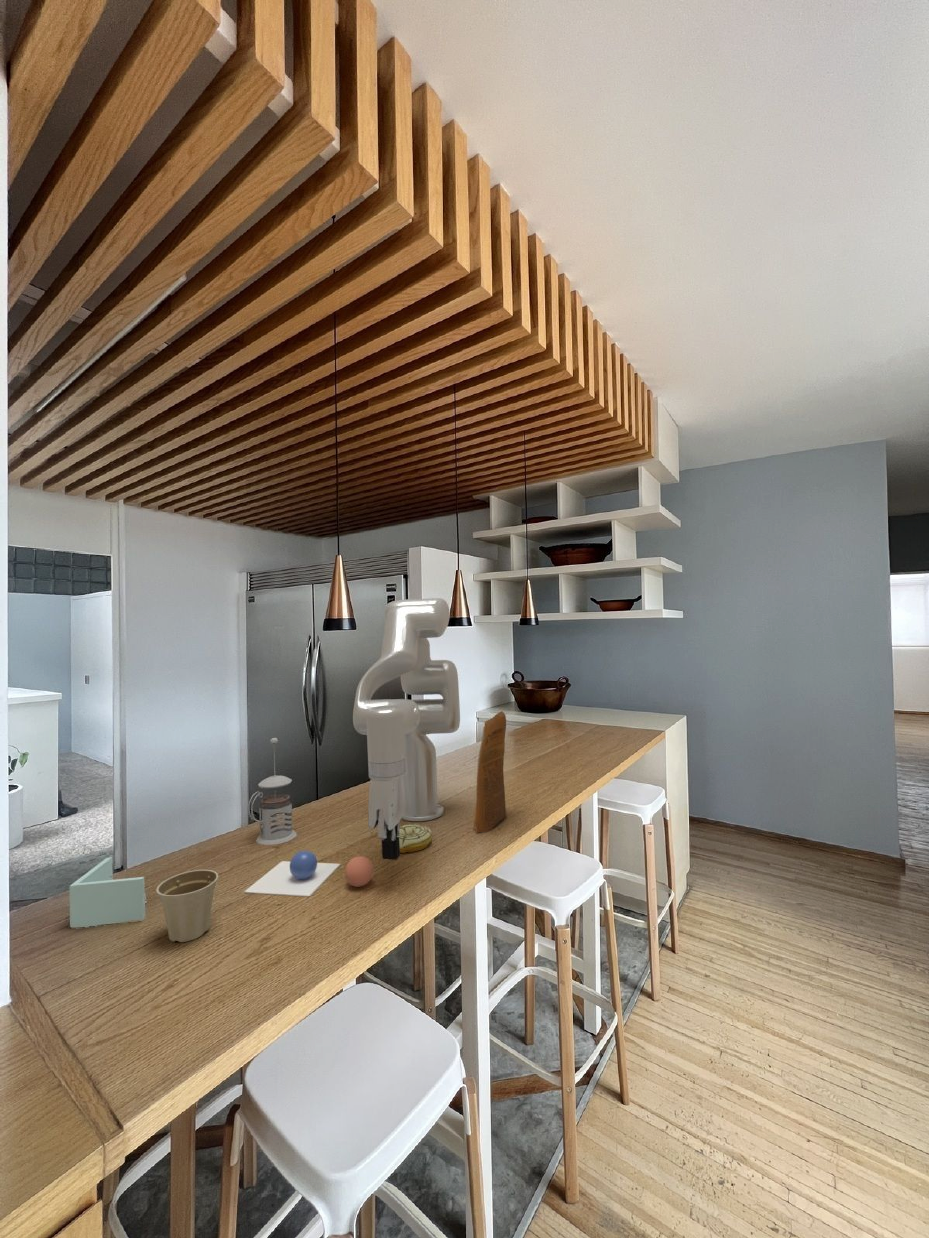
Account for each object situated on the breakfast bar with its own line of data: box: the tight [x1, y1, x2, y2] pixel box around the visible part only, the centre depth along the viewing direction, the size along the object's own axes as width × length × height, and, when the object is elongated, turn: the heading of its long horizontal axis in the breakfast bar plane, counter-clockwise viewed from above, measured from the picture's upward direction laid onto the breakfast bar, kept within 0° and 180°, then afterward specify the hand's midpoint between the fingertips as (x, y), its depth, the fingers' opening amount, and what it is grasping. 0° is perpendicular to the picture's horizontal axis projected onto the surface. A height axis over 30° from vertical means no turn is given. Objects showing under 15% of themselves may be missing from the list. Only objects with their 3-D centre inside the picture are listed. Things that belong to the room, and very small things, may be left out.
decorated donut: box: [397, 823, 433, 854], centre depth 123 cm, size 10×11×4 cm
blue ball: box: [289, 850, 318, 880], centre depth 108 cm, size 6×6×6 cm
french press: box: [247, 737, 298, 846], centre depth 131 cm, size 10×12×25 cm
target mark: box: [243, 860, 341, 898], centre depth 108 cm, size 14×14×1 cm
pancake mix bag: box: [473, 710, 507, 834], centre depth 136 cm, size 7×19×28 cm, turn 153°
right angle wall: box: [69, 856, 148, 928], centre depth 99 cm, size 12×12×8 cm
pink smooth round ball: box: [344, 855, 374, 888], centre depth 104 cm, size 6×6×6 cm
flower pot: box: [155, 869, 219, 943], centre depth 89 cm, size 9×9×9 cm
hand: (391, 857), depth 105 cm, fingers closed
